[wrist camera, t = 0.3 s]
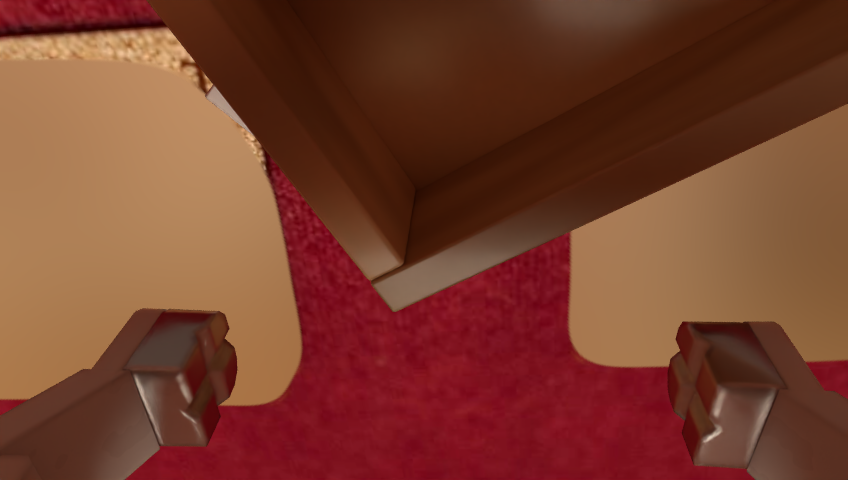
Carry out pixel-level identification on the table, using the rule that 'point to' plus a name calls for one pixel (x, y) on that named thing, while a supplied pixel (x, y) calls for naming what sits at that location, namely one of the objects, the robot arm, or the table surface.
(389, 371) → the table surface
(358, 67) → the beige open tray
